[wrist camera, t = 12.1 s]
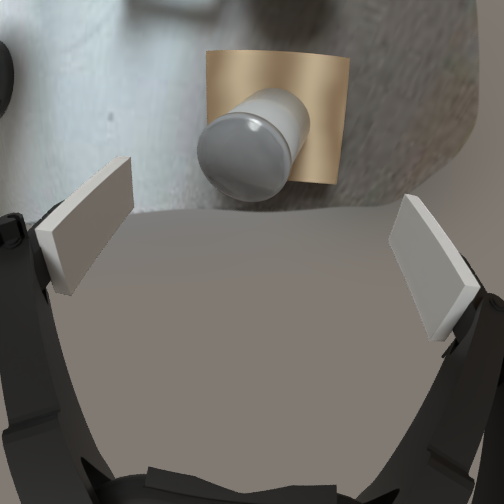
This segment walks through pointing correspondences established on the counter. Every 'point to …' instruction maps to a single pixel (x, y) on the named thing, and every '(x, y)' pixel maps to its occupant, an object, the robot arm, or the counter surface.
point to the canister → (254, 145)
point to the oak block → (296, 82)
